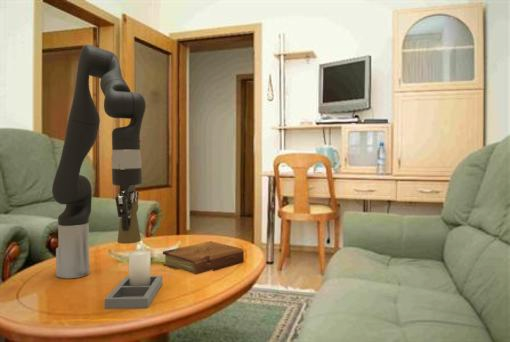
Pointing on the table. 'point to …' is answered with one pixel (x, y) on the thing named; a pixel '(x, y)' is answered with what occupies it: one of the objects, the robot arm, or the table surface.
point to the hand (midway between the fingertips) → (128, 230)
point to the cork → (130, 228)
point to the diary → (203, 257)
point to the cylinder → (139, 268)
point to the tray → (132, 294)
